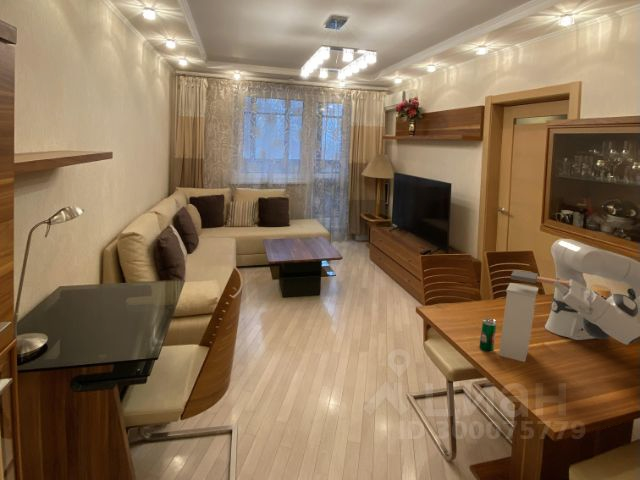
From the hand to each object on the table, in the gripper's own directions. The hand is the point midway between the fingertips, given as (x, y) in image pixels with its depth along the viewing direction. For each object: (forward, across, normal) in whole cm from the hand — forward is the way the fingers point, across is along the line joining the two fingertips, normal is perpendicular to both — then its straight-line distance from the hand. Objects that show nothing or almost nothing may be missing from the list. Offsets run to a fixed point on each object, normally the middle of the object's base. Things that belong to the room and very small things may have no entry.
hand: (554, 280), depth 148 cm
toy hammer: (+4, 0, -3) cm, 5 cm away
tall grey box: (-7, 0, -32) cm, 32 cm away
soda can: (+1, -2, -37) cm, 37 cm away
